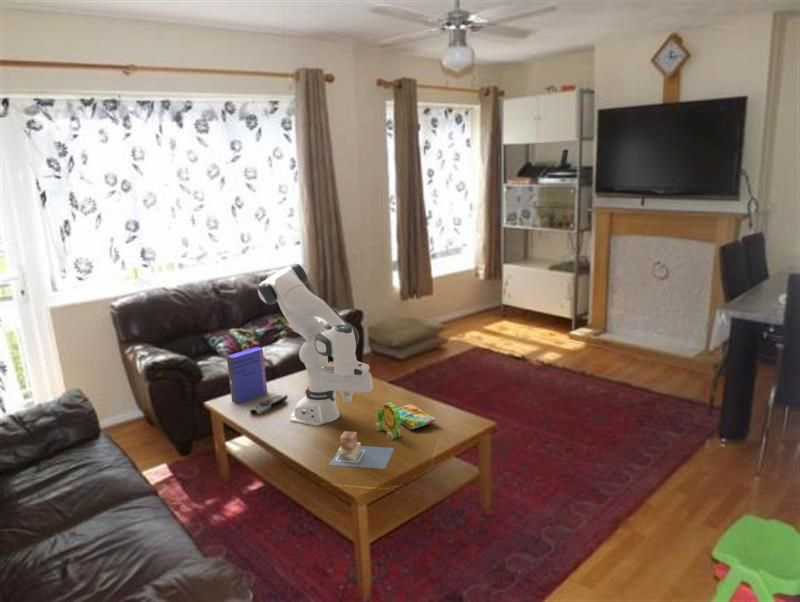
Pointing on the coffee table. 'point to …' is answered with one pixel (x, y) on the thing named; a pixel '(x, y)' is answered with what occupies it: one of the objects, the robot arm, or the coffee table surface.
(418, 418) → the puzzle game
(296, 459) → the coffee table surface
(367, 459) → the board
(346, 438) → the terracotta cube
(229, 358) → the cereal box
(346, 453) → the ash base block
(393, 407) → the toy lion
